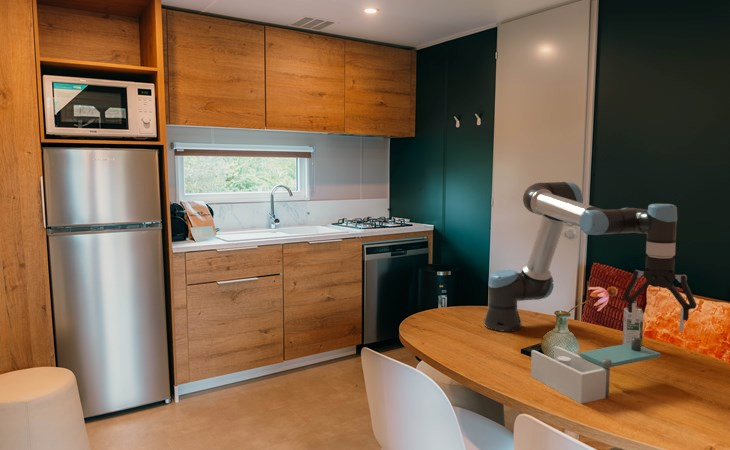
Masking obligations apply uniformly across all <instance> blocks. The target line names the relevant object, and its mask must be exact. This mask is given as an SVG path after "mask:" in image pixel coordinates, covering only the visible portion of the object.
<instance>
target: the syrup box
mask: <svg viewBox="0 0 730 450" xmlns="http://www.w3.org/2000/svg"><path fill="white" fill-rule="evenodd" d="M631 321H632V313H631V312H629V311H628V307H624V308H623V323H622V324H623V328H622V331H623V332H622V344H627V343H632V338H633V337H636V338H640V339H641V346H642V347H643V337H644V336H643V334H644V311H643V309H642V308H637V309H636V323H635V324H631Z"/></svg>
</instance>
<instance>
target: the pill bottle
mask: <svg viewBox="0 0 730 450" xmlns="http://www.w3.org/2000/svg"><path fill="white" fill-rule="evenodd" d="M557 361H559V362H561V363H563V364H565V365H567V366H569V367H571V368H572V365H571V358H569V357H566V356H559V357H558V358H557Z"/></svg>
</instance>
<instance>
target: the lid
mask: <svg viewBox="0 0 730 450" xmlns="http://www.w3.org/2000/svg"><path fill="white" fill-rule="evenodd" d="M578 355H579V356H580V357H582V358H584V359H587V360H589V361H591V362H594V363H596V364H598V365H600V366H603V367H605V368H610V369H611V368H614V367H615V368H616V367H619V366H624V365H628V364H634V363H639V362H643V361H649V360H653V359H658V358H661V352H658V351H655V350H653V349H650V348H647V347H645V346H643V345H642V346H641V339H640V338H636V337H633V338H632V343H627V344H623V343H622V344H617V345H613V346H607V347H606V346H605V347H602V348H597V349H592V350H585V351H580V352H578Z"/></svg>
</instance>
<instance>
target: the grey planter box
mask: <svg viewBox="0 0 730 450" xmlns="http://www.w3.org/2000/svg"><path fill="white" fill-rule="evenodd" d="M553 353H554V354H553V358H552V357H550V356H548V355H546V354H543V353H541V352H539V351H537V350H535V349H532V350H531V353H530V356H531V357H530V360H531V362H530V377H531V378H533V379H535V380H536V381H538V382H540V383H542V384H544V385H545V386H548V387H550V388H551V389H553V390H555V391H557V392H559V393H560V394H562V395H564V396H566V397H568V398H570V399H571V400H572V401H575V402H577V403H579V404H580V405H581V404H586V403H591V402H594V401H598V400H599V401H600V400H603V399H609V396H610V377H611V376H610V372H611V367H610V368H605V367H603V366H600V365H598V364H596V363H594V362H591V361H589V360H587V359H584V358H582V357H580V356H579V354H577V353H575V352H572V351H569V350H567V349H565V348H562V347H560V346H558V345H555V346H553ZM559 356H566V357H569V358H571V365H572V368H571V367H569V366H567V365H565V364H563V363H561V362H559V361H557V358H558V357H559Z"/></svg>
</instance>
